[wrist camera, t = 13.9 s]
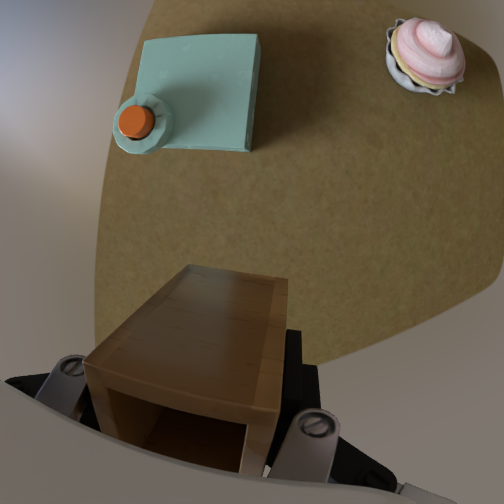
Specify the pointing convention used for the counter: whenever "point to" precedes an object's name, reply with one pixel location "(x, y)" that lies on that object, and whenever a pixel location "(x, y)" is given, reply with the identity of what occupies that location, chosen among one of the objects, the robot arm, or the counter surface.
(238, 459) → the open wooden box
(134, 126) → the button
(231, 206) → the counter surface
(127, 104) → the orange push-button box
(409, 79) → the cupcake
